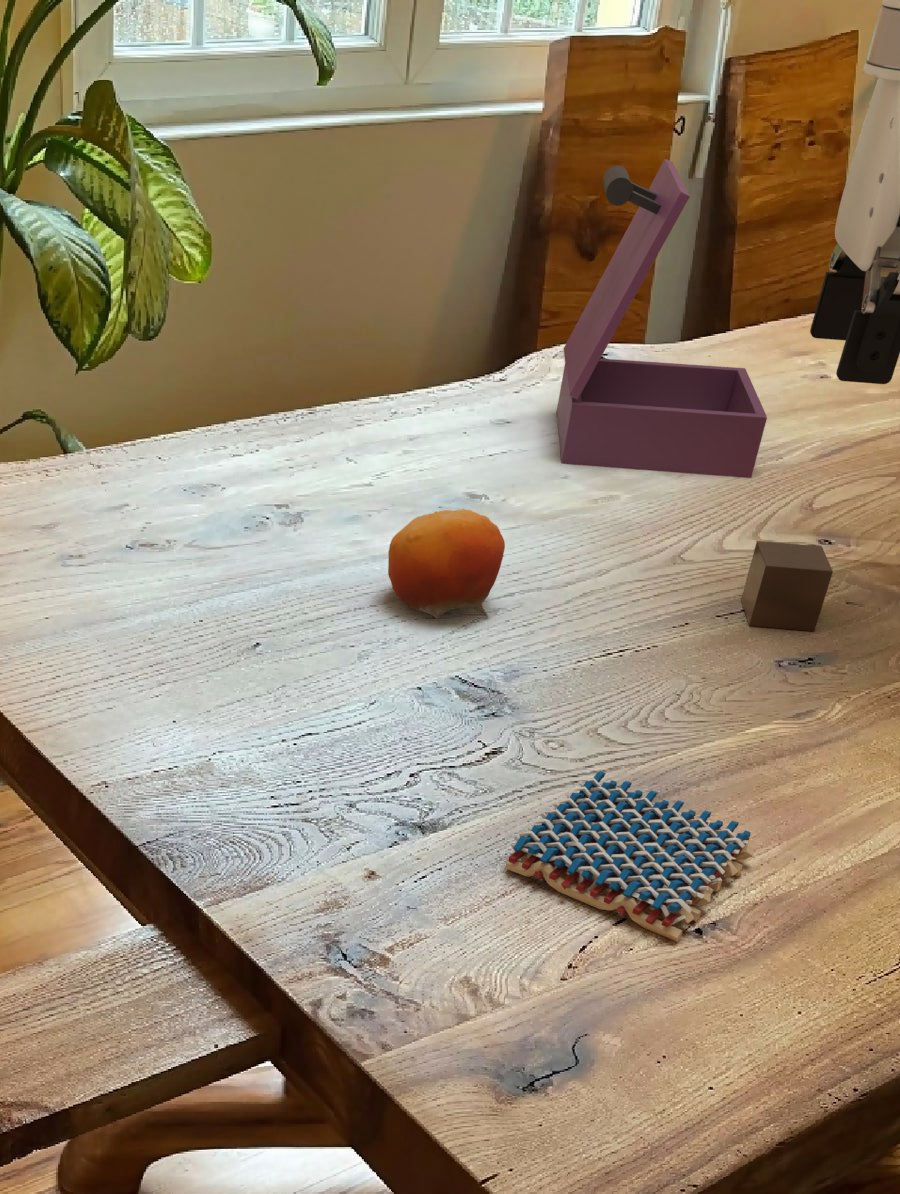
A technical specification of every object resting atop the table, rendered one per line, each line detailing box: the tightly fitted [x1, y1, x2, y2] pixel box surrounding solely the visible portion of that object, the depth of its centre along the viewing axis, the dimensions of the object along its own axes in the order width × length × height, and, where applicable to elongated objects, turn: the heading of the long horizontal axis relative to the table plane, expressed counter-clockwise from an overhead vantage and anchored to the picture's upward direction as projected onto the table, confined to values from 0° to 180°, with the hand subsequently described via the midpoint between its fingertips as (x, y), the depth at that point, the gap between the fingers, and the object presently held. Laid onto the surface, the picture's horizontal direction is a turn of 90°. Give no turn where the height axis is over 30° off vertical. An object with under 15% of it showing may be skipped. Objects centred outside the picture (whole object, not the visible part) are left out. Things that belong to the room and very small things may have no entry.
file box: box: [555, 358, 768, 479], centre depth 128 cm, size 16×14×7 cm
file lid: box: [563, 158, 691, 399], centre depth 121 cm, size 16×14×5 cm
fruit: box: [387, 509, 506, 622], centre depth 104 cm, size 8×8×8 cm
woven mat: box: [504, 770, 755, 943], centre depth 80 cm, size 10×11×2 cm
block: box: [740, 540, 834, 632], centre depth 104 cm, size 4×4×4 cm
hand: (847, 358), depth 95 cm, fingers open, 9 cm apart
